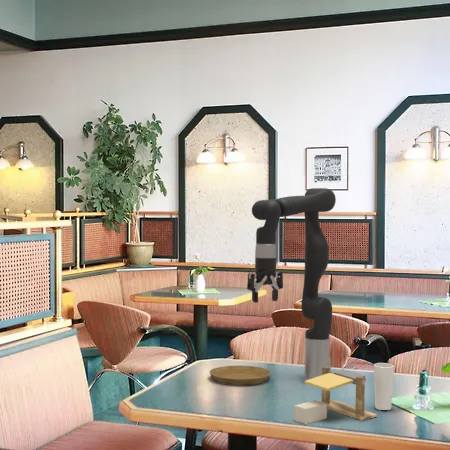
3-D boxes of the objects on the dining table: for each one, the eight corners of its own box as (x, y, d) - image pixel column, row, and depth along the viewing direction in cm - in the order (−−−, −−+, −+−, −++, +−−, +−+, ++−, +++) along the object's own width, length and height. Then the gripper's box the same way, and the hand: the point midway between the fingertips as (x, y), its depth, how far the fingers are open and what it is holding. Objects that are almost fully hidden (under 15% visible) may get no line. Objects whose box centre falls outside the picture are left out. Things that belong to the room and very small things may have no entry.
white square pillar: (315, 400, 236) (294, 405, 229) (326, 403, 232) (305, 409, 226) (315, 415, 236) (293, 421, 229) (326, 418, 232) (305, 424, 226)
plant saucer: (211, 372, 295) (211, 364, 295) (269, 373, 294) (270, 365, 294) (207, 387, 271) (207, 378, 271) (271, 388, 270) (271, 379, 270)
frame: (335, 403, 250) (335, 364, 250) (377, 417, 233) (377, 376, 233) (319, 405, 246) (320, 366, 246) (361, 421, 230) (362, 378, 229)
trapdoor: (342, 374, 246) (342, 368, 246) (366, 381, 236) (366, 375, 236) (305, 387, 237) (304, 381, 236) (328, 395, 227) (327, 388, 227)
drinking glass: (389, 413, 239) (390, 368, 238) (370, 409, 242) (370, 365, 242) (396, 408, 244) (397, 364, 244) (377, 405, 248) (377, 362, 248)
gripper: (255, 257, 249) (255, 304, 250) (287, 256, 257) (287, 301, 258) (243, 256, 256) (242, 301, 256) (275, 255, 263) (274, 299, 264)
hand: (265, 301), depth 257 cm, fingers open, 8 cm apart
